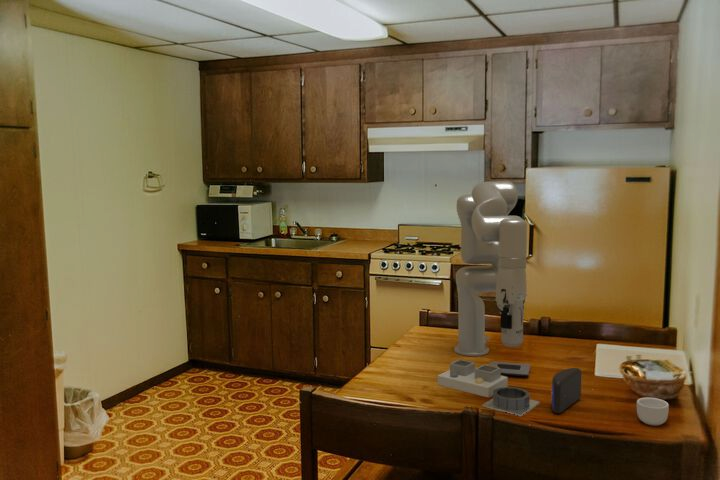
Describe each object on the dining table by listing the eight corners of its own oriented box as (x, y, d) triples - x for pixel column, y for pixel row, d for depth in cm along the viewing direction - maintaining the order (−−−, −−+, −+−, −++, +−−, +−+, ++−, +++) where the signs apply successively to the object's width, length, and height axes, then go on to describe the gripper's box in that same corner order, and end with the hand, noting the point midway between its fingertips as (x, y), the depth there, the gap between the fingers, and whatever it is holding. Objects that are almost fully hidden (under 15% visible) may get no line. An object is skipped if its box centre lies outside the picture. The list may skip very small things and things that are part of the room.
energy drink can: (521, 348, 176) (522, 295, 175) (499, 346, 179) (500, 294, 177) (523, 342, 182) (524, 291, 180) (502, 340, 184) (503, 289, 182)
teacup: (658, 430, 163) (659, 410, 162) (630, 421, 169) (630, 402, 169) (677, 420, 169) (678, 401, 168) (649, 412, 175) (650, 393, 175)
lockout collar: (502, 394, 191) (502, 383, 190) (540, 403, 183) (540, 391, 182) (482, 406, 182) (482, 394, 181) (520, 416, 174) (520, 404, 173)
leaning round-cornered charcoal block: (566, 395, 189) (567, 364, 188) (582, 398, 186) (582, 367, 185) (543, 412, 177) (544, 379, 176) (559, 416, 174) (560, 382, 173)
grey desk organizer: (458, 374, 209) (458, 357, 208) (507, 386, 197) (507, 367, 196) (437, 384, 200) (437, 366, 199) (488, 397, 188) (488, 378, 188)
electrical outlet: (530, 370, 213) (530, 363, 213) (528, 380, 203) (528, 373, 203) (490, 367, 217) (490, 360, 217) (486, 377, 207) (486, 370, 207)
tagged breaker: (485, 373, 199) (485, 366, 199) (496, 376, 197) (496, 368, 196) (478, 377, 196) (478, 369, 196) (490, 379, 194) (490, 371, 193)
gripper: (514, 257, 186) (514, 317, 189) (485, 265, 173) (484, 330, 176) (538, 259, 181) (537, 321, 184) (510, 268, 169) (509, 334, 171)
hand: (511, 325), depth 180 cm, fingers closed on energy drink can, 6 cm apart
